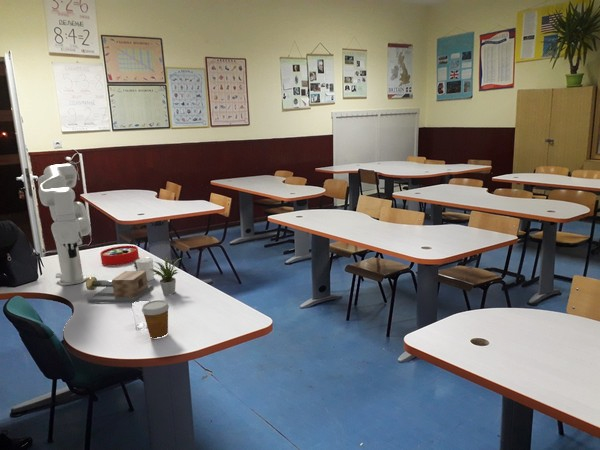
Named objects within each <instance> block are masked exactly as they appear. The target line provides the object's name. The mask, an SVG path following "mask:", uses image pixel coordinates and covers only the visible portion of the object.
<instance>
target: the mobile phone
mask: <svg viewBox="0 0 600 450" xmlns="http://www.w3.org/2000/svg"><path fill="white" fill-rule="evenodd" d="M136 260H138V259H135V260H134V262H133V263H134V265H133V267H134V268H136V271H138V269H137V264H136Z"/></svg>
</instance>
